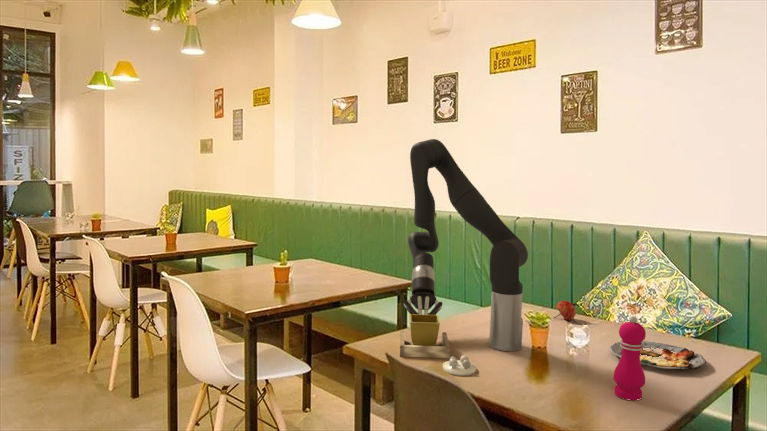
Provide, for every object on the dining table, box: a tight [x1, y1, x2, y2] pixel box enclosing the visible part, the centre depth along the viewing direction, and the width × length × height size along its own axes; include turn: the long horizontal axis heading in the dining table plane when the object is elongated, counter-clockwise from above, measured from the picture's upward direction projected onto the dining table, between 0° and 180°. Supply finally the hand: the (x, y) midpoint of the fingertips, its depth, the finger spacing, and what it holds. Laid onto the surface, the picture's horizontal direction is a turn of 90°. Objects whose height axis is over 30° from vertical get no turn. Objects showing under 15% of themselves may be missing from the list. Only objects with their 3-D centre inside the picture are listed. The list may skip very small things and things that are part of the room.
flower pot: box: [409, 313, 441, 346], centre depth 174 cm, size 9×9×9 cm
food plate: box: [609, 340, 707, 371], centre depth 168 cm, size 25×23×4 cm
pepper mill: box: [612, 315, 647, 401], centre depth 140 cm, size 7×7×20 cm
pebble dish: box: [442, 354, 477, 377], centre depth 156 cm, size 9×9×3 cm
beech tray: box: [399, 330, 451, 359], centre depth 173 cm, size 14×15×3 cm
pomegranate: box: [553, 299, 578, 321], centre depth 209 cm, size 7×7×10 cm
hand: (422, 329), depth 178 cm, fingers closed
